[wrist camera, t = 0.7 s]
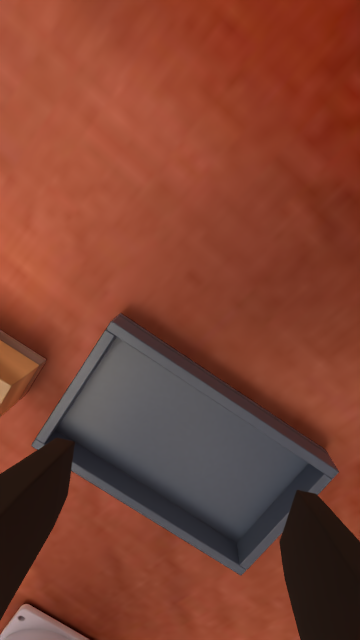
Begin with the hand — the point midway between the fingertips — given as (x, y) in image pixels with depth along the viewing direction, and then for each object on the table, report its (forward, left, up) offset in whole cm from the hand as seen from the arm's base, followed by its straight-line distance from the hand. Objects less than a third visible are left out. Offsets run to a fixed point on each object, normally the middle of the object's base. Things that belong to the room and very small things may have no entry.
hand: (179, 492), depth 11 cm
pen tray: (-4, -2, -10) cm, 11 cm away
